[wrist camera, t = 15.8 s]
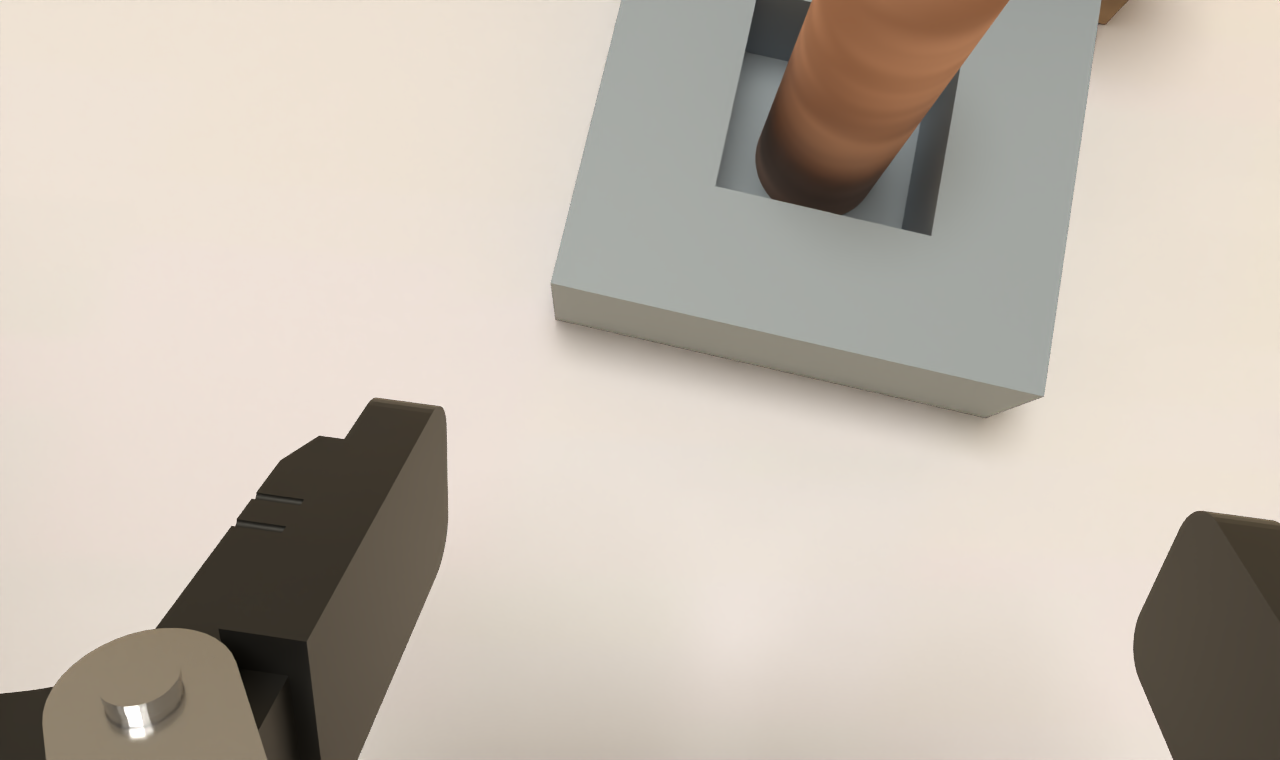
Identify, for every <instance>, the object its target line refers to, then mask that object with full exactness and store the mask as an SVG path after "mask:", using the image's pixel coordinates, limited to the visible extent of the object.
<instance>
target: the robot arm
mask: <svg viewBox="0 0 1280 760" xmlns="http://www.w3.org/2000/svg"><path fill="white" fill-rule="evenodd" d="M447 526H448V486H447V427H446V416H445V412H444V410H443V408H442V407H441V406H434V405H427V404H419V403H412V402H404V401H397V400H390V399H382V398H373V399H372V400H371V401H370V402H369V403H368V404H367V406H366V407H365V409H364V410H363V412H362V413H361V415H360V416H359V418H358V419H357V421H356V422H355V424H354V425H353V427H352V428H351V430H350V431H349V433H348V434H347V436H346V437H345V439H339V438H332V437H324V436H318V437H316V438H315V439H313V440H312V441H310V442H309V443H307V444H306V445H304V446H302V447H301V448H299V449H298V450H296V451H295V452H293V453H291V454H290V455H288V456H287V457H285V458H284V459H282V460H280V462H279V463H278V464H277V466H276V467H275V468H274V470H273V471H272V472H271V474H270V475H269V476H268V478H267V479H266V480H265V482H264V483H263V484H262V486H261V487H260V489H259V490H258V491H257V494H256V499H251V501H250V502H249V503H248V505H247V506H246V507H245V509H244V510H243V511H242V513H241V514H240V515H239V517H238V518H237V523H236V526H231V528H230V529H229V530H228V532H227V533H226V534H225V536H224V537H223V538H222V540H221V541H220V542H219V544H218V545H217V546H216V548H215V549H214V551H213V552H212V553H211V555H210V556H209V557H208V559H207V560H206V561H205V563H204V564H203V565H202V567H201V568H200V569H199V571H198V572H197V573H196V575H195V576H194V578H193V579H192V580H191V582H190V583H189V584H188V586H187V587H186V588H185V590H184V591H183V592H182V594H181V595H180V596H179V598H178V599H177V600H176V602H175V603H174V604H173V606H172V607H171V609H170V610H169V611H168V613H167V614H166V615H165V617H164V618H163V619H162V621H161V622H160V623H159V625H158V626H157V627H156V629H152V630H146V631H141V632H137V633H133V634H129V635H127V636H124V637H121V638H118V639H115V640H113V641H111V642H109V643H107V644H104V645H102V646H100V647H98V648H97V649H95V650H94V651H92V652H90V653H89V654H87V655H85V656H84V657H83V658H81V659H80V660H79V661H78V662H76V663H75V664H74V665H72V666H71V667H70V668H69V669H68V670H67V671H66V672H65V673H64V674H63V675H62V676H61V678H60V679H59V680H58V682H57V683H56V684H55V686H54V687H50V688H44V689H38V690H31V691H22V692H13V693H4V694H0V760H358V757H359V755H360V753H361V750H362V748H363V746H364V743H365V741H366V739H367V736H368V734H369V732H370V729H371V727H372V725H373V722H374V720H375V718H376V715H377V713H378V711H379V708H380V706H381V704H382V701H383V699H384V697H385V694H386V692H387V690H388V687H389V685H390V683H391V680H392V678H393V676H394V673H395V671H396V669H397V666H398V664H399V662H400V659H401V657H402V655H403V652H404V650H405V648H406V645H407V643H408V641H409V638H410V636H411V634H412V631H413V629H414V627H415V624H416V622H417V620H418V617H419V615H420V613H421V610H422V608H423V606H424V603H425V601H426V599H427V596H428V594H429V592H430V589H431V587H432V585H433V582H434V580H435V578H436V575H437V573H438V570H439V567H440V564H441V560H442V557H443V552H444V548H445V542H446V536H447ZM1133 652H1134V662H1135V667H1136V671H1137V675H1138V677H1139V680H1140V682H1141V685H1142V687H1143V689H1144V692H1145V694H1146V696H1147V699H1148V701H1149V704H1150V706H1151V708H1152V711H1153V713H1154V715H1155V718H1156V720H1157V722H1158V725H1159V727H1160V729H1161V732H1162V734H1163V737H1164V739H1165V741H1166V744H1167V746H1168V748H1169V751H1170V753H1171V755H1172V758H1173V760H1280V523H1278V522H1276V521H1273V520H1266V519H1258V518H1251V517H1243V516H1236V515H1229V514H1221V513H1214V512H1206V511H1197V512H1194V513H1192V514H1191V515H1189V516H1188V517H1187V518H1186V520H1185V521H1184V522H1183V524H1182V526H1181V527H1180V529H1179V531H1178V534H1177V536H1176V538H1175V540H1174V542H1173V544H1172V546H1171V548H1170V551H1169V553H1168V555H1167V557H1166V559H1165V561H1164V563H1163V565H1162V568H1161V570H1160V572H1159V574H1158V576H1157V578H1156V580H1155V582H1154V585H1153V587H1152V589H1151V591H1150V593H1149V595H1148V597H1147V599H1146V602H1145V604H1144V606H1143V608H1142V610H1141V612H1140V615H1139V617H1138V620H1137V623H1136V627H1135V633H1134V643H1133Z"/></svg>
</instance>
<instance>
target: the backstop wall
mask: <svg viewBox="0 0 1280 760" xmlns="http://www.w3.org/2000/svg"><path fill="white" fill-rule="evenodd" d="M1127 1H1128V0H1101V6H1100V13H1099V20H1098V23H1101V24H1104V25H1105V24H1106V23H1107V22H1108V21H1109V20H1110V19H1111V18H1112V17H1113V16H1114V15H1115V14H1116V13H1117V12H1118V11H1119V10H1120V9H1121V8H1122V6H1123V5H1124V4H1125V3H1126V2H1127Z"/></svg>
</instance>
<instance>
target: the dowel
mask: <svg viewBox="0 0 1280 760" xmlns="http://www.w3.org/2000/svg"><path fill="white" fill-rule="evenodd" d="M1008 2H1009V0H812V2H811V4H810V7H809V9H808V12H807V15H806V17H805V20H804V23H803V25H802V28H801V30H800V33H799V36H798V38H797V41H796V43H795V46H794V49H793V51H792V54H791V57H790V59H789V62H788V64H787V67H786V70H785V72H784V75H783V77H782V80H781V83H780V85H779V88H778V91H777V93H776V96H775V98H774V101H773V104H772V106H771V109H770V111H769V114H768V117H767V119H766V122H765V125H764V127H763V130H762V132H761V135H760V138H759V140H758V144H757V147H756V154H755V163H756V170H757V174H758V177H759V180H760V182H761V184H762V186H763V188H764V190H765V191H766V193H767V194H768V195H769V196H770V198H771V199H773V200H778V201H782V202H786V203H791V204H795V205H799V206H804V207H808V208H812V209H817V210H821V211H825V212H830V213H834V214H838V215H843V214H845V213H847V212H849V211H851V210H852V209H854V208H855V207H856V206H858V205H859V204H860V203H861V202H862V201H863V200H864V198H865V197H866V196H867V195H868V193H869V192H870V190H871V189H872V188H873V186H874V185H875V184H876V182H877V181H878V179H879V178H880V177H881V175H882V174H883V173H884V171H885V170H886V169H887V167H888V166H889V164H890V163H891V162H892V160H893V159H894V158H895V156H896V155H897V153H898V152H899V151H900V149H901V148H902V147H903V145H904V144H905V143H906V141H907V140H908V138H909V137H910V136H911V134H912V133H913V132H914V130H915V129H916V127H917V126H918V125H919V123H920V122H921V121H922V119H923V118H924V117H925V115H926V114H927V112H928V111H929V110H930V108H931V107H932V106H933V104H934V103H935V102H936V100H937V99H938V97H939V96H940V95H941V93H942V92H943V91H944V89H945V88H946V86H947V85H948V84H949V82H950V81H951V80H952V78H953V77H954V76H955V74H956V73H957V71H958V70H959V69H960V67H961V66H962V65H963V63H964V62H965V60H966V59H967V58H968V56H969V55H970V54H971V52H972V51H973V50H974V48H975V47H976V45H977V44H978V43H979V41H980V40H981V39H982V37H983V36H984V34H985V33H986V32H987V30H988V29H989V28H990V26H991V25H992V24H993V22H994V21H995V19H996V18H997V17H998V15H999V14H1000V13H1001V11H1002V10H1003V9H1004V7H1005V6H1006V4H1007V3H1008Z"/></svg>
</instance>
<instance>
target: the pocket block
mask: <svg viewBox="0 0 1280 760" xmlns="http://www.w3.org/2000/svg"><path fill="white" fill-rule="evenodd" d="M811 2H812V0H621V4H620V8H619V12H618V16H617V20H616V24H615V28H614V32H613V36H612V40H611V44H610V48H609V52H608V56H607V60H606V64H605V68H604V72H603V76H602V80H601V84H600V88H599V92H598V96H597V100H596V104H595V108H594V112H593V116H592V120H591V124H590V128H589V132H588V136H587V140H586V144H585V148H584V152H583V156H582V160H581V164H580V168H579V172H578V176H577V180H576V184H575V188H574V192H573V196H572V200H571V204H570V208H569V212H568V216H567V220H566V224H565V228H564V232H563V236H562V240H561V244H560V248H559V252H558V256H557V260H556V264H555V268H554V272H553V276H552V280H551V289H552V297H553V305H554V312H555V319H556V320H561V321H565V322H569V323H574V324H578V325H582V326H587V327H591V328H596V329H600V330H604V331H609V332H613V333H617V334H622V335H626V336H630V337H635V338H639V339H644V340H648V341H652V342H657V343H661V344H665V345H670V346H674V347H679V348H683V349H687V350H692V351H696V352H700V353H705V354H709V355H713V356H718V357H722V358H727V359H731V360H735V361H740V362H744V363H748V364H753V365H757V366H762V367H766V368H770V369H775V370H779V371H783V372H788V373H792V374H796V375H801V376H805V377H810V378H814V379H818V380H823V381H827V382H831V383H836V384H840V385H845V386H849V387H853V388H858V389H862V390H866V391H871V392H875V393H879V394H884V395H888V396H893V397H897V398H901V399H906V400H910V401H914V402H919V403H923V404H928V405H932V406H936V407H941V408H945V409H949V410H954V411H958V412H962V413H967V414H971V415H976V416H980V417H984V418H987V417H989V416H992V415H995V414H998V413H1000V412H1003V411H1006V410H1008V409H1011V408H1014V407H1017V406H1019V405H1022V404H1025V403H1028V402H1030V401H1033V400H1036V399H1038V398H1041V397H1044V392H1045V385H1046V378H1047V371H1048V365H1049V358H1050V351H1051V344H1052V337H1053V330H1054V323H1055V316H1056V309H1057V302H1058V296H1059V289H1060V282H1061V275H1062V268H1063V261H1064V254H1065V247H1066V240H1067V234H1068V227H1069V220H1070V213H1071V206H1072V199H1073V192H1074V185H1075V178H1076V172H1077V165H1078V158H1079V151H1080V144H1081V137H1082V130H1083V123H1084V116H1085V110H1086V103H1087V96H1088V89H1089V82H1090V75H1091V68H1092V61H1093V54H1094V48H1095V41H1096V34H1097V27H1098V20H1099V13H1100V6H1101V0H1009V2H1008V3H1007V4H1006V6H1005V7H1004V9H1003V10H1002V11H1001V13H1000V14H999V15H998V17H997V18H996V19H995V21H994V22H993V24H992V25H991V26H990V28H989V29H988V30H987V32H986V33H985V34H984V36H983V37H982V39H981V40H980V41H979V43H978V44H977V45H976V47H975V48H974V50H973V51H972V52H971V54H970V55H969V56H968V58H967V59H966V60H965V62H964V63H963V65H962V66H961V67H960V69H959V70H958V71H957V73H956V74H955V76H954V77H953V78H952V80H951V81H950V82H949V84H948V85H947V86H946V88H945V89H944V91H943V92H942V93H941V95H940V96H939V97H938V99H937V100H936V102H935V103H934V104H933V106H932V107H931V108H930V110H929V111H928V112H927V114H926V115H925V117H924V118H923V119H922V121H921V122H920V123H919V125H918V126H917V127H916V129H915V130H914V132H913V133H912V134H911V136H910V137H909V138H908V140H907V141H906V143H905V144H904V145H903V147H902V148H901V149H900V151H899V152H898V153H897V155H896V156H895V158H894V159H893V160H892V162H891V163H890V164H889V166H888V167H887V169H886V170H885V171H884V173H883V174H882V175H881V177H880V178H879V179H878V181H877V182H876V184H875V185H874V186H873V188H872V189H871V190H870V192H869V193H868V195H867V196H866V197H865V198H864V200H863V201H862V202H861V203H860V204H859V205H858V206H856V207H855V208H854V209H852V210H851V211H849V212H847V213H845V214H843V215H838V214H834V213H830V212H825V211H821V210H817V209H812V208H808V207H804V206H799V205H795V204H791V203H786V202H782V201H778V200H773V199H771V198H770V196H769V195H768V194H767V193H766V191H765V190H764V188H763V186H762V184H761V182H760V180H759V177H758V174H757V170H756V163H755V154H756V147H757V144H758V140H759V138H760V135H761V132H762V130H763V127H764V125H765V122H766V119H767V117H768V114H769V111H770V109H771V106H772V104H773V101H774V98H775V96H776V93H777V91H778V88H779V85H780V83H781V80H782V77H783V75H784V72H785V70H786V67H787V64H788V62H789V59H790V57H791V54H792V51H793V49H794V46H795V43H796V41H797V38H798V36H799V33H800V30H801V28H802V25H803V23H804V20H805V17H806V15H807V12H808V9H809V7H810V4H811Z"/></svg>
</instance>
